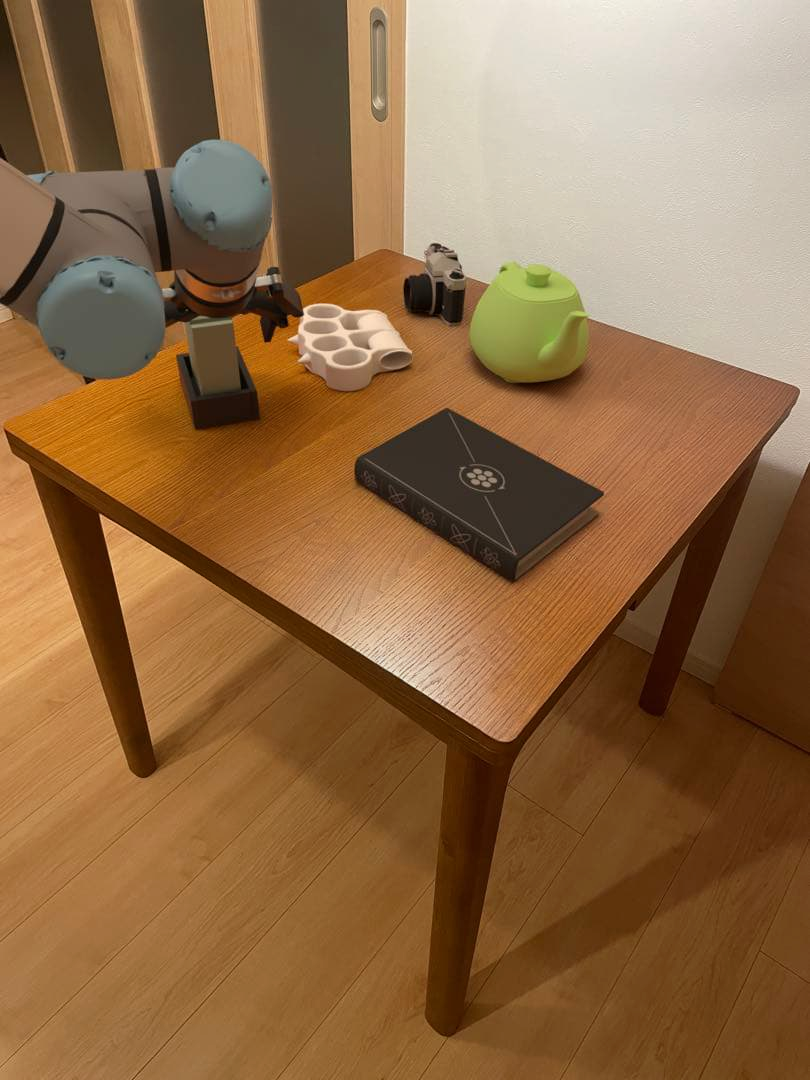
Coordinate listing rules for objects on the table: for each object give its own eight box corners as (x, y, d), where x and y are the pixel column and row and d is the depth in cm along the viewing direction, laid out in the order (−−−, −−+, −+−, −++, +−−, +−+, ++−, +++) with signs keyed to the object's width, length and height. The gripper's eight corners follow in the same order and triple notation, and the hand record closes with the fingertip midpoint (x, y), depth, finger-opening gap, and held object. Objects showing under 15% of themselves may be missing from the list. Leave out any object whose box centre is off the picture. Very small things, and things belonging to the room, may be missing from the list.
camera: (392, 290, 121) (394, 233, 115) (440, 285, 123) (445, 228, 117) (418, 336, 113) (422, 277, 106) (469, 329, 115) (476, 271, 108)
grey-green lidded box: (204, 414, 93) (190, 323, 85) (192, 380, 99) (178, 292, 91) (243, 408, 94) (233, 318, 87) (230, 375, 100) (219, 287, 92)
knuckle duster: (420, 381, 102) (308, 398, 98) (378, 318, 114) (277, 330, 111) (421, 358, 100) (307, 373, 96) (378, 296, 112) (276, 308, 108)
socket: (195, 429, 92) (190, 401, 90) (180, 381, 100) (175, 354, 97) (260, 418, 94) (257, 390, 92) (240, 372, 102) (237, 345, 99)
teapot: (619, 402, 100) (644, 304, 91) (510, 420, 96) (525, 319, 87) (542, 323, 115) (557, 232, 106) (445, 335, 111) (452, 242, 102)
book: (353, 481, 86) (353, 459, 84) (445, 428, 94) (446, 407, 92) (511, 584, 75) (515, 561, 73) (599, 514, 83) (605, 492, 81)
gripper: (82, 323, 70) (104, 386, 90) (354, 289, 77) (317, 355, 97) (64, 240, 70) (90, 322, 90) (337, 214, 77) (304, 295, 97)
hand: (208, 339), depth 94 cm, fingers open, 13 cm apart
